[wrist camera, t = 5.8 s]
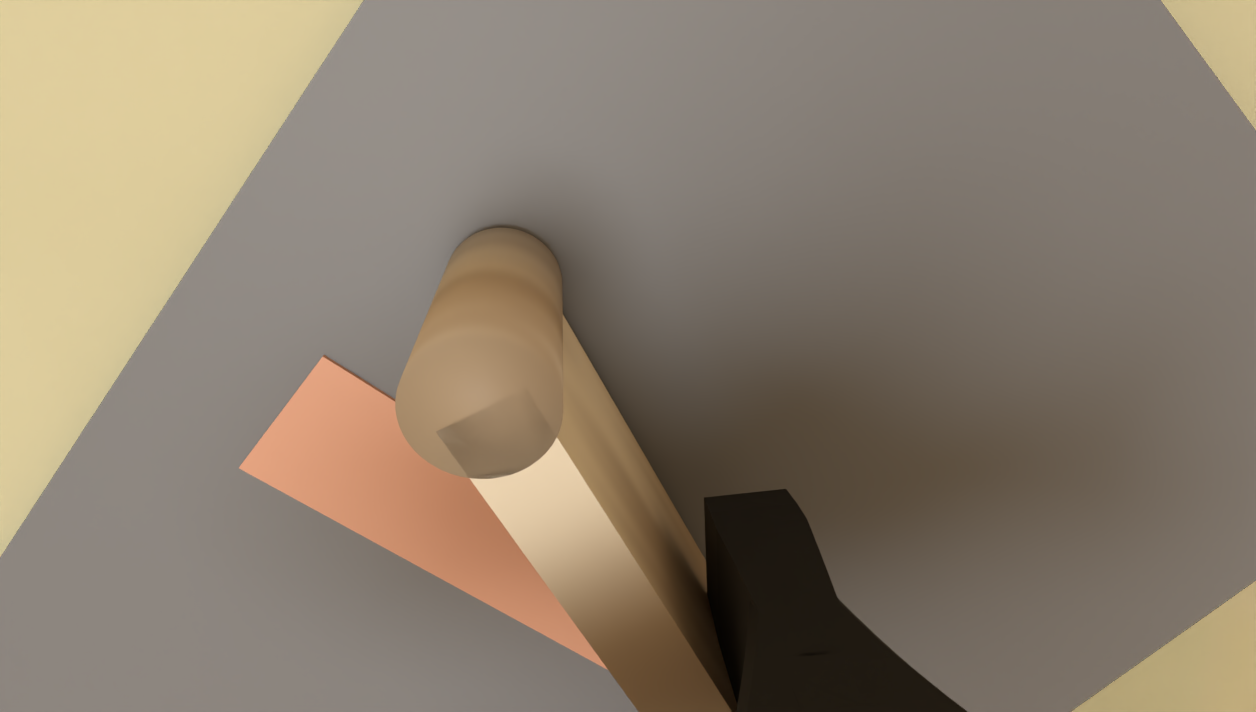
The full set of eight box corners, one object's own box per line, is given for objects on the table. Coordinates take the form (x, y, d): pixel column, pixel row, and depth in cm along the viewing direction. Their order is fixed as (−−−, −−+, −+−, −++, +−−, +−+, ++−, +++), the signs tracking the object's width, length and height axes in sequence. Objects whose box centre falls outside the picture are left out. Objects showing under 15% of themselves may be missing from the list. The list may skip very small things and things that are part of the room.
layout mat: (1448, 415, 14) (1476, 428, 13) (596, 1028, 20) (597, 1050, 20) (730, -549, 8) (741, -581, 7) (-141, 780, 14) (-161, 803, 14)
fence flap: (776, 650, 14) (839, 842, 11) (697, 682, 14) (736, 881, 11) (526, 206, 10) (511, 306, 7) (422, 260, 10) (361, 380, 7)
